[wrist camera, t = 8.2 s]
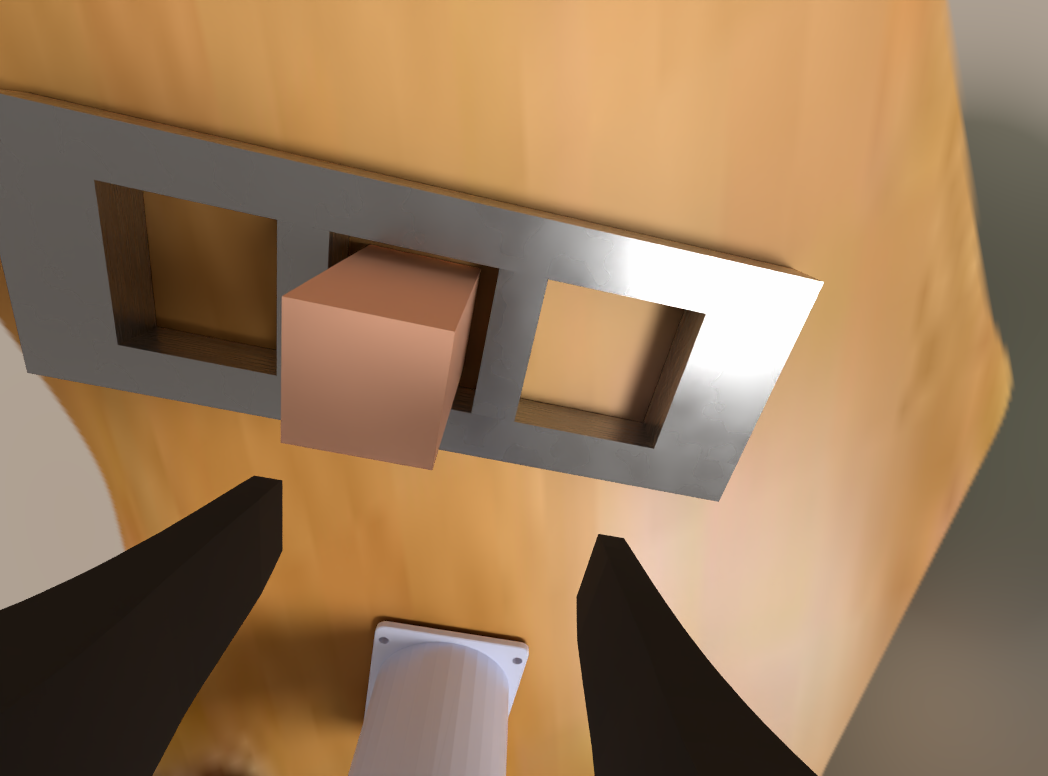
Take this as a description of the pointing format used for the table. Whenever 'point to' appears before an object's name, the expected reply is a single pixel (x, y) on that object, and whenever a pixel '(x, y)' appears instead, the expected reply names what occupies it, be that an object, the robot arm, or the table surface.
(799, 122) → the table surface
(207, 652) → the robot arm
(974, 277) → the table surface
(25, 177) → the grey slotted board
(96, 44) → the table surface
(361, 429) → the peg
